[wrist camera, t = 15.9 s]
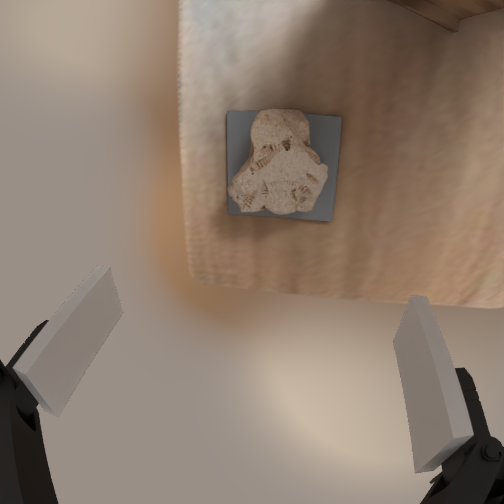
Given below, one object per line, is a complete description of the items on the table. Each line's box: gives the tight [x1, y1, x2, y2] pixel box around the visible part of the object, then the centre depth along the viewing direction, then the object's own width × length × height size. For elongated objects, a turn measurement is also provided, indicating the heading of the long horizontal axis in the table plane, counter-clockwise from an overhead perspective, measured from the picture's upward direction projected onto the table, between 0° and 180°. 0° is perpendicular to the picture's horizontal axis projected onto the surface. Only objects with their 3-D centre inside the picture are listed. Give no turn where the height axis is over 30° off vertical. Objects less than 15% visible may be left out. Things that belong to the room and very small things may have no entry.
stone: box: [227, 108, 328, 215], centre depth 31 cm, size 9×11×5 cm
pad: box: [227, 111, 342, 222], centre depth 34 cm, size 12×12×1 cm
